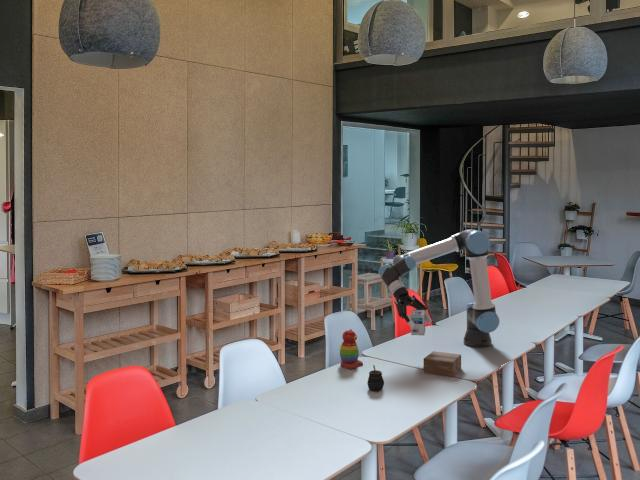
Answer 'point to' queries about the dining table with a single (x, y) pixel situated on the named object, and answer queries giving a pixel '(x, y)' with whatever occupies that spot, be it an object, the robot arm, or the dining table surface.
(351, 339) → the stacking bear
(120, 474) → the dining table surface
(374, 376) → the mate gourd
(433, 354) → the walnut block
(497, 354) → the dining table surface
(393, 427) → the dining table surface
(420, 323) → the light bulb box
